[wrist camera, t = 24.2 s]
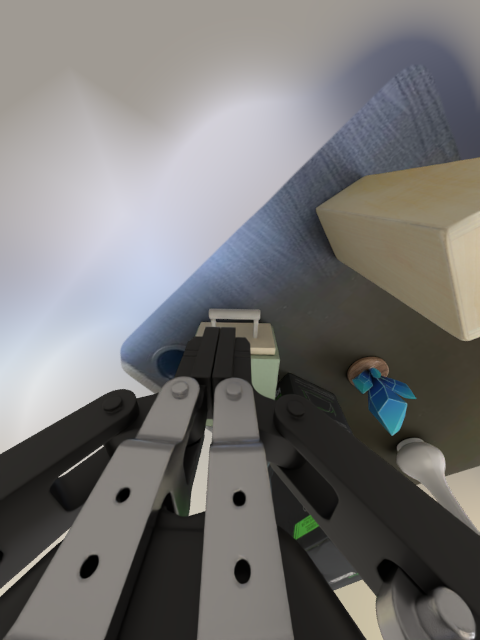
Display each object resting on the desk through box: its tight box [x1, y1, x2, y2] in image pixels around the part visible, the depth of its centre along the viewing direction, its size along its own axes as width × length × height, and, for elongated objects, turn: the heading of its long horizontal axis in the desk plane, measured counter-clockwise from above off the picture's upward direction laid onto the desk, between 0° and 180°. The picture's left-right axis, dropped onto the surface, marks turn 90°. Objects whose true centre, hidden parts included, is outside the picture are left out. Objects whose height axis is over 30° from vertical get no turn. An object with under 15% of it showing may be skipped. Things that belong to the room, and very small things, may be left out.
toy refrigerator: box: [316, 157, 480, 341], centre depth 20 cm, size 8×7×21 cm
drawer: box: [196, 309, 275, 356], centre depth 35 cm, size 18×11×7 cm, turn 179°
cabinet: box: [195, 325, 280, 426], centre depth 37 cm, size 15×13×9 cm
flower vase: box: [396, 438, 480, 536], centre depth 41 cm, size 13×18×25 cm
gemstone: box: [347, 357, 416, 436], centre depth 37 cm, size 7×9×12 cm
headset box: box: [267, 373, 362, 590], centre depth 37 cm, size 22×12×26 cm, turn 151°
